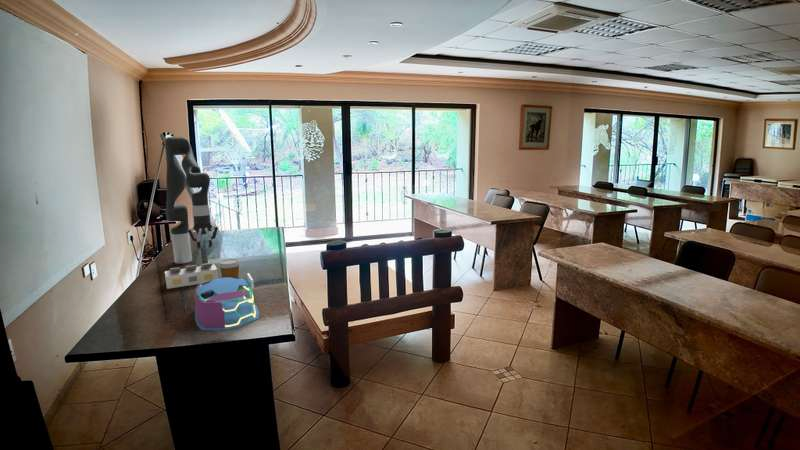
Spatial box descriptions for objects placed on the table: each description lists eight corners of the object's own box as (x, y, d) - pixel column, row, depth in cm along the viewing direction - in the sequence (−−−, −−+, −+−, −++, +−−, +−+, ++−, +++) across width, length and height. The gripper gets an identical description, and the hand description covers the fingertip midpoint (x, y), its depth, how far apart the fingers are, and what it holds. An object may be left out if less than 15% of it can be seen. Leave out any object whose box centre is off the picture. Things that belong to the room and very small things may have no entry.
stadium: (192, 304, 190) (188, 273, 187) (249, 294, 201) (247, 265, 198) (198, 336, 159) (194, 299, 156) (265, 323, 171) (262, 288, 168)
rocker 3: (200, 266, 223) (200, 263, 223) (210, 265, 225) (209, 262, 225) (202, 267, 216) (201, 264, 216) (211, 266, 218) (211, 263, 218)
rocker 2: (185, 268, 219) (185, 266, 219) (195, 267, 221) (194, 264, 221) (186, 269, 212) (186, 266, 212) (196, 268, 214) (196, 265, 214)
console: (166, 282, 217) (164, 269, 216) (215, 275, 228) (214, 262, 227) (167, 289, 208) (165, 275, 207) (218, 280, 220) (217, 267, 218)
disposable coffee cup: (245, 282, 216) (243, 259, 214) (232, 289, 208) (230, 265, 205) (229, 280, 219) (227, 257, 217) (216, 287, 211) (214, 263, 208)
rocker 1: (169, 270, 216) (169, 268, 216) (179, 269, 218) (179, 266, 218) (170, 271, 209) (169, 269, 209) (180, 270, 211) (180, 267, 211)
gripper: (215, 211, 219) (219, 244, 223) (184, 214, 212) (188, 248, 216) (218, 213, 213) (221, 247, 216) (185, 216, 206) (189, 251, 209)
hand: (204, 247), depth 216 cm, fingers open, 4 cm apart
